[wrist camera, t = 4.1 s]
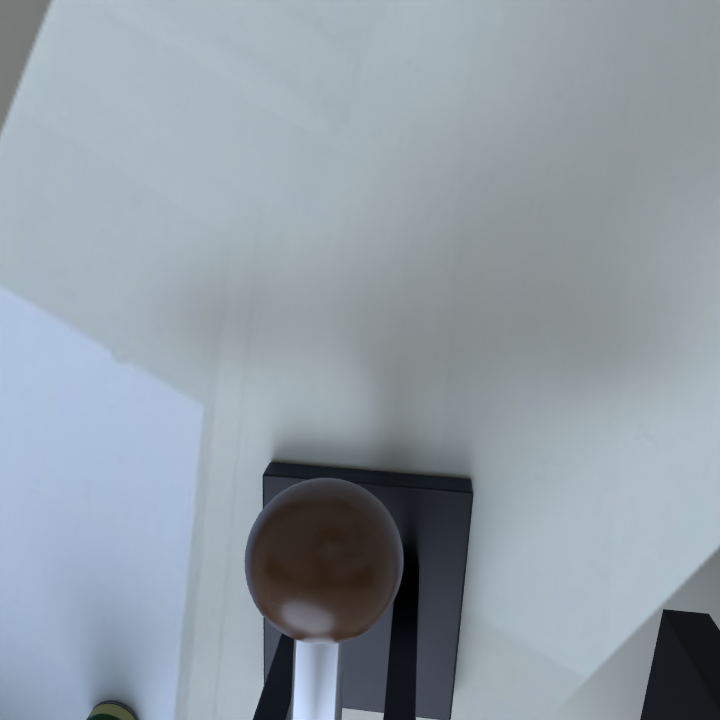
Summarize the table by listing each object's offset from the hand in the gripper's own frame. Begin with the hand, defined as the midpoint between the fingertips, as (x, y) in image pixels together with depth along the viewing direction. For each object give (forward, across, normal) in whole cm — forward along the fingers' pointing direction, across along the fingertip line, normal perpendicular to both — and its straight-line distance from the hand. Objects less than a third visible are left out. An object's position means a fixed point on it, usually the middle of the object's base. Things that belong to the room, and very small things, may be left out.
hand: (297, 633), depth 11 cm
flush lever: (+4, 0, -5) cm, 6 cm away
